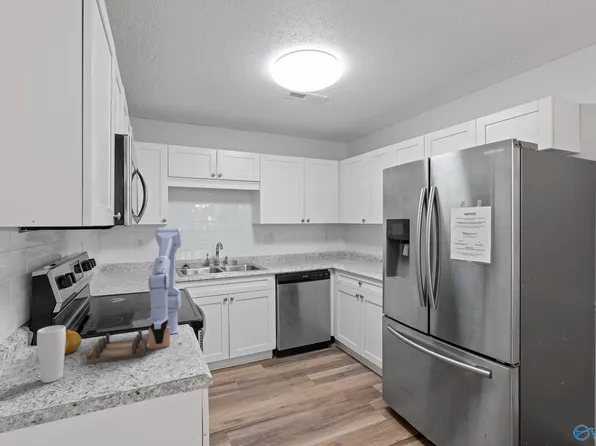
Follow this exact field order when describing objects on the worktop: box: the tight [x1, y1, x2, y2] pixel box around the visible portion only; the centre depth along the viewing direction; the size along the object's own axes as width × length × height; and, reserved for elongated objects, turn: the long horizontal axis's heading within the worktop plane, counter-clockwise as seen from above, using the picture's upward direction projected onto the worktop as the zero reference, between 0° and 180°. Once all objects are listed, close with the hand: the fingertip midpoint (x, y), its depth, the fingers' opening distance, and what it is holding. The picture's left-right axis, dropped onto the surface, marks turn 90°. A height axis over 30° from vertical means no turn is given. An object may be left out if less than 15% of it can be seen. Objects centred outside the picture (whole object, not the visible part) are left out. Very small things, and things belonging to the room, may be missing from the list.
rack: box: [85, 329, 149, 365], centre depth 114 cm, size 16×17×5 cm
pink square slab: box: [148, 326, 171, 350], centre depth 118 cm, size 2×7×7 cm, turn 108°
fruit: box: [65, 329, 82, 355], centre depth 114 cm, size 8×8×8 cm
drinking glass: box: [36, 324, 67, 384], centre depth 94 cm, size 7×7×15 cm
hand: (159, 342), depth 118 cm, fingers closed on pink square slab, 2 cm apart
